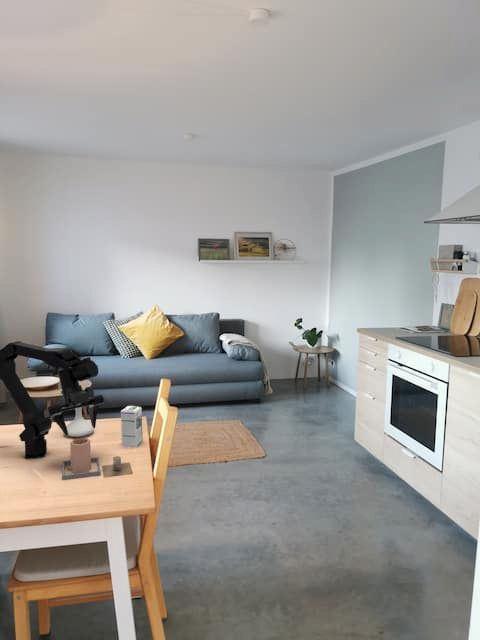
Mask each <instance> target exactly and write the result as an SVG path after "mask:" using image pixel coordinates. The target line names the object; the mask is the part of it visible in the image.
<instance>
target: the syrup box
mask: <svg viewBox="0 0 480 640" xmlns="http://www.w3.org/2000/svg"><path fill="white" fill-rule="evenodd" d="M142 410H143V408H142V406H138V405H127V406H126V407H125V408H123V409H122V410H120V421H121V422H120V424H121V427H120V428H121V446H122V447H125V448H127V447H128V448H138V447H139V446H140V445H141V444H143V442H144V441H143V440H144V439H143V412H142Z"/></svg>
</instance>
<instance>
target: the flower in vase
mask: <svg viewBox="0 0 480 640" xmlns="http://www.w3.org/2000/svg"><path fill="white" fill-rule="evenodd" d="M57 387H58V389H59V390H62V389H61V384H60V382H58V384H57ZM82 390H84V389H83V388H82ZM63 400H64V397H63ZM82 408H83V407H80V408H76V409H74V410H75V418H74V419H73V420H72V421H71V422H69V423H68V424H67V425H66V427H67V431H68V435H67V436H68V437H69V436H70V437H77V438H78V437H84V436H88V435H90V434H92V433H93V432H94V430H95V428H93V427H92V424H91V422H90V421H88V420H86V419H85V418H84V417H83V413H82V412H83V411H82V410H83V409H82Z"/></svg>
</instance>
